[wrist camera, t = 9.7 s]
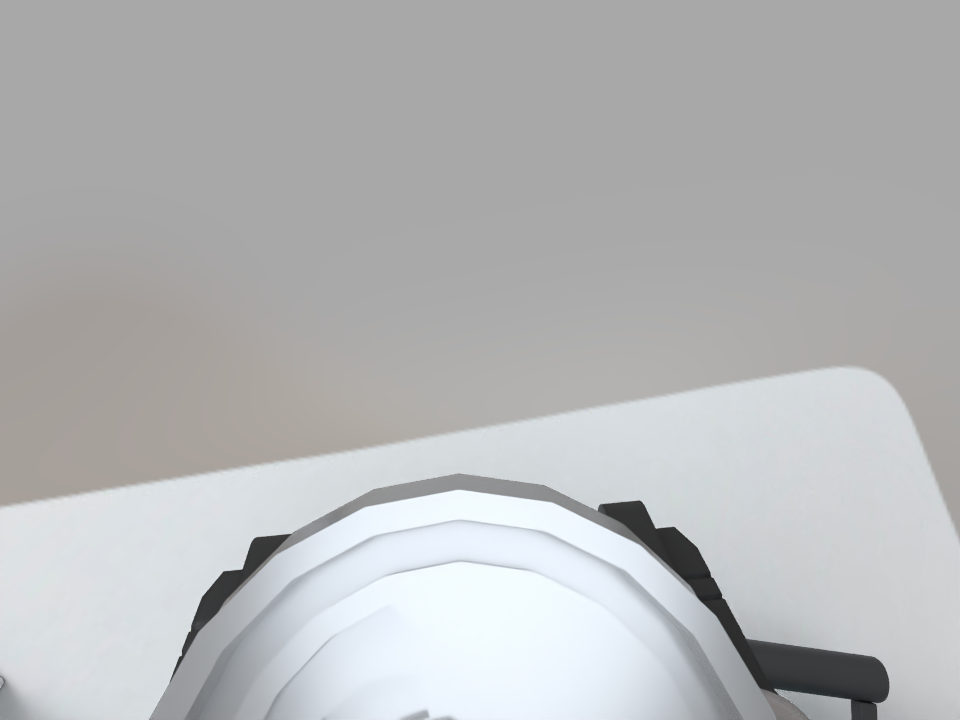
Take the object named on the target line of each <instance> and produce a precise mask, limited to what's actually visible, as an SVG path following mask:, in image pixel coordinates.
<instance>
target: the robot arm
mask: <svg viewBox="0 0 960 720" xmlns="http://www.w3.org/2000/svg"><path fill="white" fill-rule="evenodd" d="M598 512H600V513H602V514H604V515H607V516H609V517H611V518H613V519H615V520H617V521H619V522H621V523H623V524H624V525H625V526H626V527H627V528H628V529H630V530H631V531H632V532H633V533H634V534H635V535H636V536H637V537H638V538H639V539H640V540H641V541H642V542H643V543H645V544H646V545H647V546H648V547H649V548H650V549H651V550H652V551H653V552H654V553H655V554H656V555H657V556H658V557H660V558H661V559H662V560H663V561H664V562H665V563H666V564H667V565H668V566H669V567H670V568H671V569H672V570H674V571H675V572H676V573H677V574H678V575H679V576H680V577H681V578H682V579H683V580H684V581H685V582H686V583H687V584H689V585H690V586H691V588H692V589H693V591H694V593H695V594H696V596H697V598H698V599H699V600H700V601H701V602H702V603H703V604H704V605H705V606H706V607H707V608H708V609H709V610H710V611H711V612H712V613H713V614H714V615H716V617H717V618H718V620H719V622H720V623H721V625H722V627H723V628H724V630H725V632H726V633H727V635H728V637H729V638H730V640H731V642H732V643H733V645H734V647H735V648H736V650H737V652H738V653H739V655H740V657H741V658H742V660H743V662H744V663H745V665H746V667H747V668H748V670H749V672H750V673H751V675H752V677H753V678H754V680H755V682H756V683H757V685H758V687H759V688H760V690H761V692H762V693H763V695H764V697H765V698H766V700H767V702H768V703H769V705H770V707H771V708H772V710H773V712H774V713H775V717H776V720H809V719H808V718H807V716H806V715H805V714H804V713H803V712H802V711H801V710H800V709H799V708H797V707H796V706H795V705H793V704H792V703H791V702H789V701H788V700H786V699H784V698H783V697H781V696H779V695H778V694H777V692H776V691H775V690H774V689H773V687H772V686H771V684H770V683H769V681H768V679H767V678H766V676H765V674H764V672H763V670H762V668H761V666H760V665H759V663H758V661H757V659H756V657H755V655H754V653H753V651H752V650H751V648H750V646H749V644H748V642H747V640H746V638H745V636H744V635H743V633H742V631H741V629H740V627H739V625H738V623H737V621H736V620H735V618H734V616H733V614H732V612H731V610H730V608H729V606H728V605H727V603H726V601H725V599H723V598H722V593H721V591H720V590H719V588H718V586H717V584H716V582H715V580H714V578H711V574H710V571H709V569H708V567H707V565H706V563H705V561H704V559H703V558H702V556H701V554H700V552H699V550H698V548H697V547H696V546H695V545H694V544H693V543H692V542H690V541H689V540H688V539H687V538H686V537H685V536H684V535H683V534H682V533H680V532H679V531H678V530H677V529H676V528H675V527H668V528H658V529H655V527H654V525H653V522H652V520H651V518H650V516H649V514H648V512H647V510H646V508H645V506H644V504H643V503H642V502H641V501H630V502H620V503H610V504H601V505H599V508H598ZM290 535H291V534H286V535H276V536H266V537H256V538H254V540H253V541H252V543H251V545H250V548H249V551H248V554H247V558H246V561H245V564H244V567H243V570H234V571H224V572H223V573H222V574H221V575H220V577H219V578H218V579H217V580H216V581H215V582H214V584H213V585H212V586H211V587H210V588H209V590H208V591H207V592H206V593H205V594H204V596H203V597H202V599H201V601H200V604H199V607H198V609H197V612H196V615H195V617H194V620H193V622H192V625H191V632H189V633H188V636H187V638H186V641H185V643H184V646H183V649H182V656H180V657H179V659H178V662H177V664H176V667H175V670H174V672H173V675H172V678H173V676H174V675H175V673H176V671H177V669H178V667H179V666H180V664H181V662H182V660H183V659H184V657H185V655H186V653H187V652H188V650H189V648H190V646H191V644H192V643H193V641H194V639H195V637H196V636H197V634H198V632H199V631H200V630H201V629H202V628H203V627H204V626H205V625H206V624H207V623H208V622H209V621H210V620H211V619H212V618H213V617H214V616H215V615H216V614H217V613H218V612H219V610H220V609H221V607H222V605H223V603H224V602H225V600H226V599H227V598H228V597H229V596H230V595H231V594H232V593H233V592H234V591H235V590H236V589H237V588H238V587H239V586H240V585H241V584H242V583H243V582H244V581H245V580H246V579H247V578H248V577H249V576H250V575H251V574H252V573H253V572H254V571H255V570H256V569H257V568H258V567H259V566H260V565H261V564H262V563H263V562H264V561H265V560H266V559H267V558H268V557H269V556H270V555H271V554H272V553H273V552H274V551H275V550H276V549H277V548H278V547H279V546H280V545H281V544H282V543H283V542H284V541H285V540H286V539H287V538H288V537H289V536H290ZM172 678H171V680H172ZM171 680H170V682H171Z"/></svg>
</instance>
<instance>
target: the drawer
mask: <svg viewBox="0 0 960 720" xmlns="http://www.w3.org/2000/svg"><path fill="white" fill-rule="evenodd" d="M746 640H747V642H748V644H749V646H750V648H751V650H752V651H753V653H754V655H755V657H756V659H757V661H758V663H759V665H760V666H761V668H762V670H763V672H764V674H765V676H766V678H767V679H768V681H769V683H770V684H771V686H772V687H773V689H781V690H788V691H795V692H802V693H809V694H816V695H823V696H831V697H838V698H845V699H851V714H852V720H877V706H876V704H874V703H881V702H883V701H885V700H886V698H887V696H888V693H889V679H888V675H887V672H886V669H885V667H884V666H883V664H882V663H881V662H880V661H879V660H878V659H876V658H875V657H872V656H864V655H857V654H850V653H843V652H836V651H828V650H821V649H814V648H807V647H800V646H793V645H785V644H778V643H771V642H764V641H757V640H749V639H746ZM872 702H873V703H872Z"/></svg>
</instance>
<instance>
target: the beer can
mask: <svg viewBox="0 0 960 720" xmlns="http://www.w3.org/2000/svg"><path fill="white" fill-rule="evenodd" d="M149 720H776V717H775V713H774V712H773V710H772V708H771V707H770V705H769V703H768V702H767V700H766V698H765V697H764V695H763V693H762V692H761V690H760V688H759V687H758V685H757V683H756V682H755V680H754V678H753V677H752V675H751V673H750V672H749V670H748V668H747V667H746V665H745V663H744V662H743V660H742V658H741V657H740V655H739V653H738V652H737V650H736V648H735V647H734V645H733V643H732V642H731V640H730V638H729V637H728V635H727V633H726V632H725V630H724V628H723V627H722V625H721V623H720V622H719V620H718V618H717V617H716V615H714V614H713V613H712V612H711V611H710V610H709V609H708V608H707V607H706V606H705V605H704V604H703V603H702V602H701V601H700V600H699V599H698V598H697V596H696V594H695V593H694V591H693V589H692V588H691V586H690V585H689V584H687V583H686V582H685V581H684V580H683V579H682V578H681V577H680V576H679V575H678V574H677V573H676V572H675V571H674V570H672V569H671V568H670V567H669V566H668V565H667V564H666V563H665V562H664V561H663V560H662V559H661V558H660V557H658V556H657V555H656V554H655V553H654V552H653V551H652V550H651V549H650V548H649V547H648V546H647V545H646V544H645V543H643V542H642V541H641V540H640V539H639V538H638V537H637V536H636V535H635V534H634V533H633V532H632V531H631V530H630V529H628V528H627V527H626V526H625V525H624V524H623V523H621V522H619V521H617V520H615V519H613V518H611V517H609V516H607V515H604V514H602V513H600V512H598V511H596V510H594V509H592V508H590V507H588V506H586V505H584V504H582V503H580V502H578V501H576V500H573V499H571V498H569V497H567V496H565V495H563V494H561V493H559V492H557V491H555V490H553V489H551V488H549V487H547V486H544V485H539V484H531V483H524V482H517V481H509V480H502V479H495V478H488V477H480V476H473V475H466V474H454V475H449V476H443V477H438V478H433V479H427V480H422V481H416V482H411V483H405V484H400V485H394V486H389V487H384V488H378V489H374V490H372V491H370V492H368V493H366V494H364V495H362V496H360V497H359V498H357V499H355V500H353V501H351V502H349V503H347V504H345V505H344V506H342V507H340V508H338V509H336V510H334V511H332V512H330V513H329V514H327V515H325V516H323V517H321V518H319V519H317V520H316V521H314V522H312V523H310V524H308V525H306V526H304V527H302V528H301V529H299V530H297V531H295V532H293V533H292V534H291V535H290V536H289V537H288V538H287V539H286V540H285V541H284V542H283V543H282V544H281V545H280V546H279V547H278V548H277V549H276V550H275V551H274V552H273V553H272V554H271V555H270V556H269V557H268V558H267V559H266V560H265V561H264V562H263V563H262V564H261V565H260V566H259V567H258V568H257V569H256V570H255V571H254V572H253V573H252V574H251V575H250V576H249V577H248V578H247V579H246V580H245V581H244V582H243V583H242V584H241V585H240V586H239V587H238V588H237V589H236V590H235V591H234V592H233V593H232V594H231V595H230V596H229V597H228V598H227V599H226V600H225V602H224V603H223V605H222V607H221V609H220V610H219V612H218V613H217V614H216V615H215V616H214V617H213V618H212V619H211V620H210V621H209V622H208V623H207V624H206V625H205V626H204V627H203V628H202V629H201V630H200V631H199V632H198V634H197V636H196V637H195V639H194V641H193V643H192V644H191V646H190V648H189V650H188V652H187V653H186V655H185V657H184V659H183V660H182V662H181V664H180V666H179V667H178V669H177V671H176V673H175V675H174V676H173V678H172V680H171V682H170V683H169V685H168V687H167V689H166V690H165V692H164V694H163V696H162V698H161V699H160V701H159V703H158V705H157V706H156V708H155V710H154V712H153V714H152V715H151V717H150V719H149Z"/></svg>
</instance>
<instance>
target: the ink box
mask: <svg viewBox="0 0 960 720" xmlns="http://www.w3.org/2000/svg"><path fill="white" fill-rule="evenodd" d="M3 683H4V680H3V679H2V678H1V677H0V689H1V687H2V685H3Z"/></svg>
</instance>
